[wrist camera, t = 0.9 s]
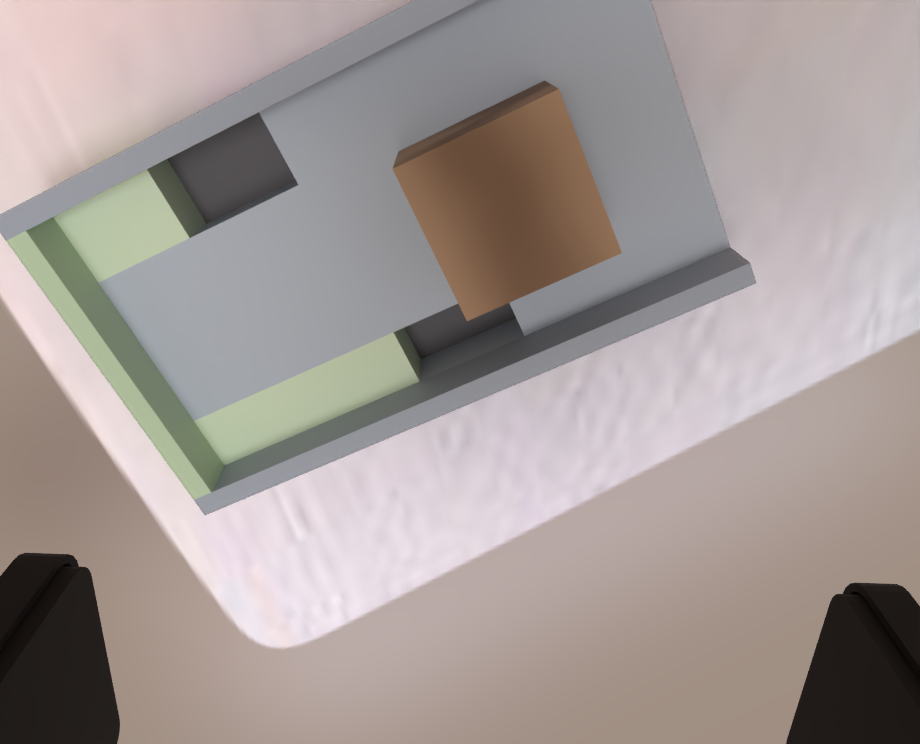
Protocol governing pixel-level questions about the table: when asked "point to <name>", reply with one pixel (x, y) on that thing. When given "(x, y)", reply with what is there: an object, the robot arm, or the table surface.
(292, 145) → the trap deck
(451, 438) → the table surface
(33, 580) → the robot arm
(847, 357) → the table surface
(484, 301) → the block
